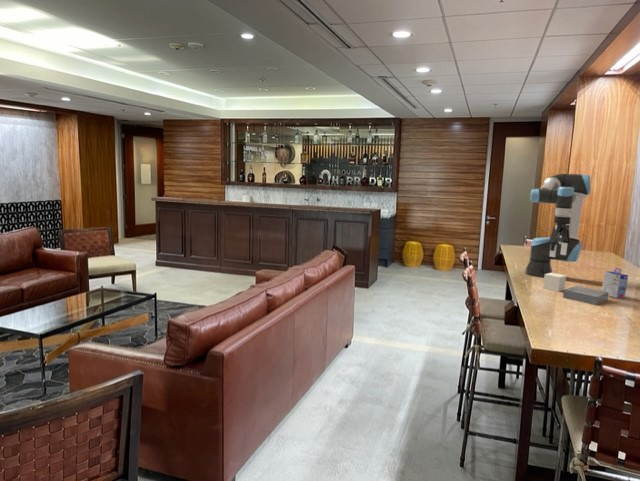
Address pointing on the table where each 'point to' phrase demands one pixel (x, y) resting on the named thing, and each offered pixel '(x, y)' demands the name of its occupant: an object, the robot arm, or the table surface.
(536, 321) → the table surface
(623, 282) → the ink cartridge box
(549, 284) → the cream cube
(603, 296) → the charcoal riser
